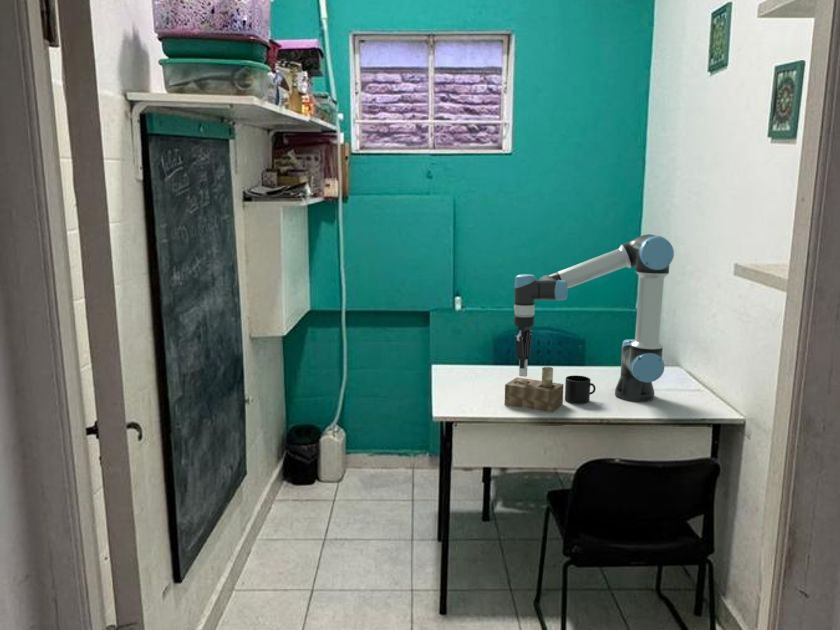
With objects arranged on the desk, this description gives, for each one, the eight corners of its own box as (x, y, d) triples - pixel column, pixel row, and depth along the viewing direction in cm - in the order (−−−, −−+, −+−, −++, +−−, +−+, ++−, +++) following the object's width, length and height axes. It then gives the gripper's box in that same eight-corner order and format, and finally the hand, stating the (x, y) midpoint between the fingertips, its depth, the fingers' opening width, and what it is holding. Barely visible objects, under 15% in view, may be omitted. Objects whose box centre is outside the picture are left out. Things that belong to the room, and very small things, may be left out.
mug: (599, 403, 268) (600, 381, 266) (569, 404, 266) (570, 382, 264) (590, 396, 277) (591, 374, 275) (561, 397, 275) (562, 375, 274)
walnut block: (562, 404, 267) (563, 384, 265) (552, 412, 256) (553, 391, 255) (516, 396, 276) (516, 377, 274) (504, 404, 265) (505, 384, 264)
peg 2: (553, 388, 263) (554, 367, 262) (550, 390, 260) (551, 369, 258) (543, 386, 265) (544, 366, 264) (539, 389, 262) (540, 368, 260)
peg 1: (528, 400, 269) (528, 380, 268) (524, 403, 266) (525, 382, 264) (518, 398, 271) (519, 379, 270) (514, 401, 268) (515, 381, 266)
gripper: (521, 312, 270) (520, 371, 274) (508, 317, 259) (507, 378, 263) (539, 313, 266) (538, 373, 270) (527, 318, 255) (526, 381, 259)
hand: (523, 375), depth 267 cm, fingers closed
